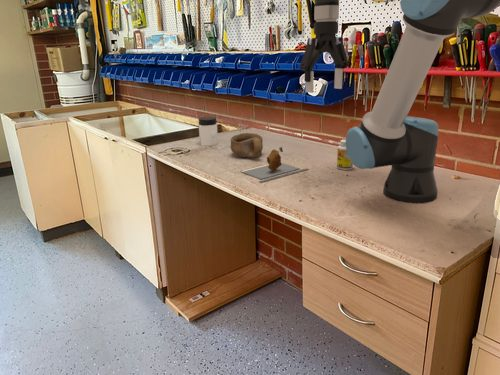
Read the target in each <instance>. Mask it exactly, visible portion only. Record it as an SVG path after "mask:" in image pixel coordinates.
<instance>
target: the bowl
mask: <svg viewBox="0 0 500 375" xmlns="http://www.w3.org/2000/svg"><path fill="white" fill-rule="evenodd" d="M263 146H264V145H263V136H261V135H259V134H258V133H252V132H251V133H249V132H244V133H240V134H235V135H233V136H232V137H231V138H230V149H231V150H230V151H231V152H232V153H233V154H234V155H236V156H238V157H241V158H259V157H260V156H261V155H262V153H263V152H262V151H263V148H264V147H263Z"/></svg>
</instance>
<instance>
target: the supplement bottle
mask: <svg viewBox="0 0 500 375" xmlns="http://www.w3.org/2000/svg"><path fill="white" fill-rule="evenodd" d="M336 157H337V158H336V159H337V160H336V167H337V169H338V170H343V171H350V170H352V169H353V167H354V166H353V165H354V164H353V163H352V162H351V160H350V158H349V156H348V153H347V149H346V139H341V140H340V141H339V145H338V146H337V156H336Z"/></svg>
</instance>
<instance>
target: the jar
mask: <svg viewBox="0 0 500 375" xmlns="http://www.w3.org/2000/svg"><path fill="white" fill-rule="evenodd" d="M217 121H218V119H217V117H216V116H203V117H199V118H198V136H199V144H200V146H202V147H213V146H218V145H217V144H219V137H218V124H217V123H218V122H217Z"/></svg>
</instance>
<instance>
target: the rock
mask: <svg viewBox="0 0 500 375" xmlns="http://www.w3.org/2000/svg"><path fill="white" fill-rule="evenodd" d="M278 149H279V150H277V149H272V150H270V151H271V152H270V153H269V155H268V156H267V157H266V163H267V164H269V166H268V168H269V169H270V170H272V171H273V172H275V171H276V169H277V168H278V167H279V166H281V163H282V160H281V158H282V157H281V155H280V152H281V153H284V151H283V146H280V147H279V148H278Z"/></svg>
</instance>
